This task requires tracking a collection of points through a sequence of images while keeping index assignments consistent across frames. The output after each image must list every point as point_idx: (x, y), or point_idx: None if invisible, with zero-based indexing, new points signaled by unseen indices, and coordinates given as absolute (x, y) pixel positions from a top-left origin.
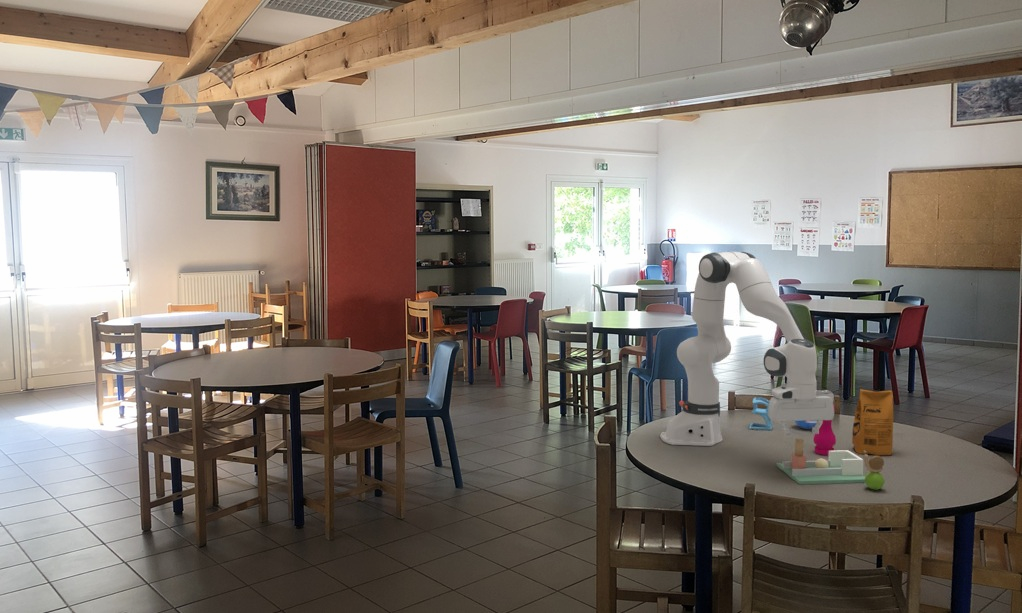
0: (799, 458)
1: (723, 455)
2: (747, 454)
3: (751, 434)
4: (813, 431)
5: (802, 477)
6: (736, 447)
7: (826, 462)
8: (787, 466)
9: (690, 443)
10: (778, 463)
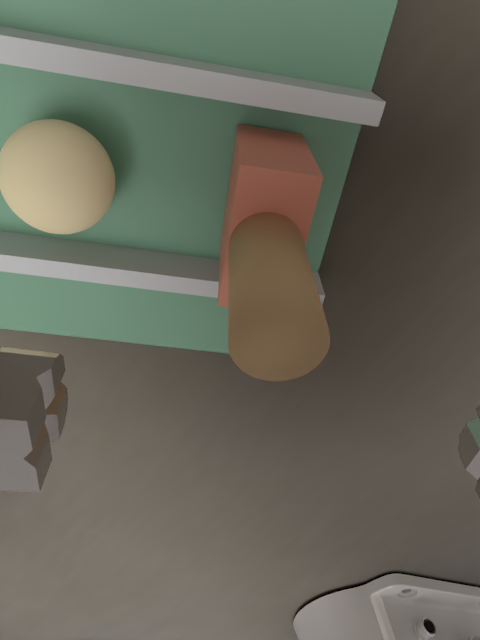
0: (309, 173)
1: (432, 498)
2: (319, 493)
3: (159, 626)
4: (49, 405)
5: (321, 32)
6: (304, 553)
7: (15, 146)
8: None
9: (467, 592)
10: None
